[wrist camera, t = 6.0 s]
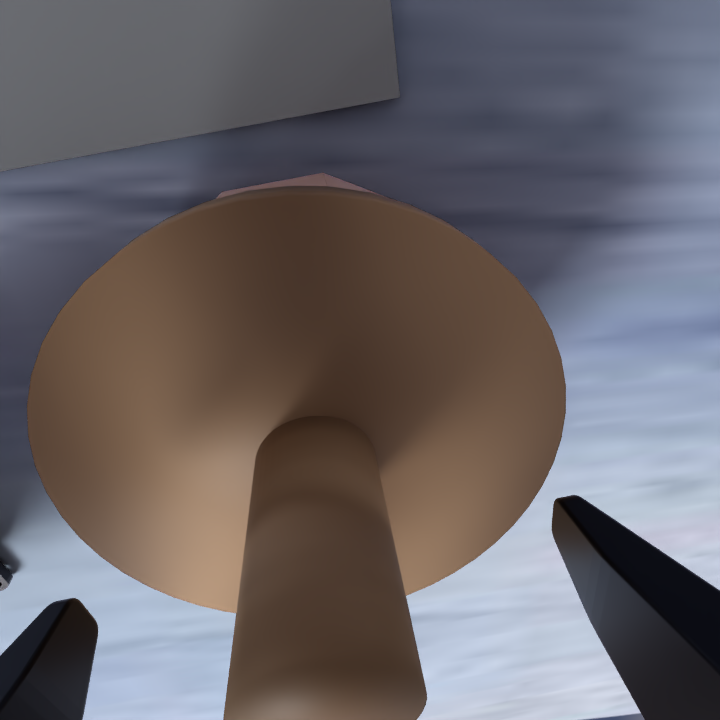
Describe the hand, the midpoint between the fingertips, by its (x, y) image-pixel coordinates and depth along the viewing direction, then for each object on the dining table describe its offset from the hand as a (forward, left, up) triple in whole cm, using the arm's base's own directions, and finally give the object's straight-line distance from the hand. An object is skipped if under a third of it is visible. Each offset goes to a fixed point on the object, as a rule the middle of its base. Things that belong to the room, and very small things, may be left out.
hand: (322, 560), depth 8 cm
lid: (0, 0, -4) cm, 4 cm away
